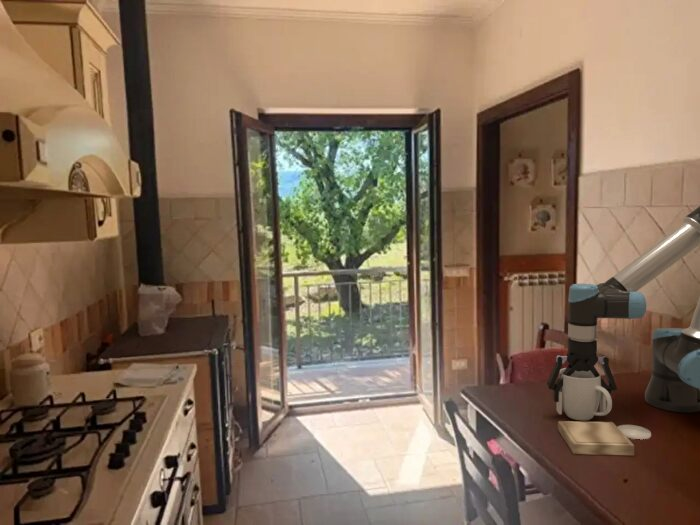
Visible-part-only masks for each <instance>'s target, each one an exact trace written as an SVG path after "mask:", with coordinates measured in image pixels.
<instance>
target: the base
mask: <svg viewBox="0 0 700 525" xmlns="http://www.w3.org/2000/svg"><path fill="white" fill-rule="evenodd" d="M617 427H618V425H616V424H615V423H614V422H613V421H570V420H568V421H567V420H566V421H565V420H564V421H563V420H559V421H558V422H557V429H558V430H557V431H558V432H559V433H560V435H561V437H562V438H563V440H564V441H565V443H566V445H567V446H568V448H569V450H570V451H571V453H572V454H573V455H597V456H598V455H599V456H604V455H605V456H607V455H608V456H635V445H634V443H633V442H632V441H631V439H630V438H627V437H626V436H625V435H624V434H623V433H622V432H621V431H620V430H619V429H618V428H617Z"/></svg>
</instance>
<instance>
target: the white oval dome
mask: <svg viewBox="0 0 700 525" xmlns="http://www.w3.org/2000/svg"><path fill="white" fill-rule="evenodd" d="M617 428H618V429H619V430H620V431H621V432H622V433H623V434H624V435H625V436H626V437H627V438H628V439H630V438H631V439H630V440H635V439H640V441H646V440H650V438H651V437H652V432H651V430H649V429H648V428H646V427H643V426H639V425H636V424H635V425H634V424H621V425H617ZM643 439H644V440H643ZM645 439H646V440H645Z"/></svg>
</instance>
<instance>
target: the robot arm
mask: <svg viewBox="0 0 700 525" xmlns="http://www.w3.org/2000/svg"><path fill="white" fill-rule="evenodd" d="M699 246H700V205H698V207H696V208H695V209H694V210H693V211H691V212H690V213H689V214H687V215H686V216H684V218H683V221H682V224H680V225H679V226H678V227H676V228H675V229H673V230H672V231H671V232H669V233H668V234H667V235H665V237H663V238H662V239H661V240H659V241H658V242H656V243H655V244H654V245H652V247H650V248H649V249H647V250H646V251H644V253H642V254H641V255H640V256H638V257H636V258H635V259H634V260H633V261H631V262H630V263H629V264H628V265H627V266H625V267H624V268H622V269H621V270H620V271H618V272H616V274H615V275H613V276H612V277H610V278H609V279H608V280H606V281H605V282H602V283H597V284H591V283H572V284H571V285H570V286H569V291H568V299H567V301H568V303H567V304H568V324H567V328H568V329H567V337H569V338H568V339H567V354H566V355H560V354H556V355H555V363H554V364H553V365H554V366H553V367H552V370H551V372H550V375H549V377H548V379H547V382H546V387H547V388H548V389H549V390H552V393H553V394H552V399H553V401H554V402H555V403H556V410H555V411H556V412H557V413H558V415H562V414H563V413H562V412H563V407H562V391H561V390H560V389H561V388H562V386H563V378H562V379H561V378H560V377H559V372H560V370H561V369H562V366H563V365H564V364H565V363H566V361H567V363H568V364H567V366H566V367H565V368H566V370H565V371H564V372H563V373H562V374H563V375H566V376H569V377H570V376H571V374H573V373H574V372H575V370H576V371H587V372H588V371H589V370H590V371H591V372H592V374H593V375H594V376H595V378H596V377H599V375H600V374H601V373H600V372H599V373H600V374H599V373H598V369H597V368H596V367H595V365H596V364H597V363H598V362H599V364H601V368H602V370H603V373H604V375H605V377H606V380H607V383H608V385H607V383H606V381H605V380H604V378H603V377H602V376H601V387H603V388H605V389H606V390H607V391H608V392H609V394H610V395H611V393H612V392H613V391H615V392H616V391H617V390H618V387H617V384H616V381H615V378H614V375H613V373H612V371H611V368H610V366H609V365H610V364H609V363H610V359H609V358H608V356H606V355H605V354H603V355H601V356H598V354H597V352H598V351H597V350H598V349H597V348H598V342H597V338H598V319H619V320H620V319H622V320H623V319H625V320H627V319H628V320H634V319H636V320H637V319H642V318H643V317H644V316H645V314H646V310H647V301H646V296H645V295H644V294H643V293H642V292H640V291H639V290H641V289H642V288H644V286H646V285H648V284H649V283H650V282H652V281H653V280H654V279H656V278H657V277H658V276H660V275H661V274H663V273H664V272H665V271H667V270H668V269H669V268H671V267H672V266H673V265H675V264H677V262H679V261H680V260H682V259H683V258H685V256H687V255H688V254H689V253H691V252H693V251H694V250H695V249H697V248H698V247H699ZM693 313H694V314H693V316H692V318H691V322H690V326H688V327H687V328H683V327H680V328H679V327H678V328H677V327H660V328H656V329H654V330H653V331H652V338H651V341H652V342H651V345H652V347H651V348H652V349H651V350H652V351H651V377H650V380H649V381H648V385H647V387H646V389H645V392H644V401H645V402H646V403H647V404H648V405H650V406H652V407H654V408H658V409H660V410H663V411H669V412H676V413H687V414H689V413H698V412H700V296H699V298H698V300H697V303H696V306H695V310H694V312H693ZM606 408H607V401H606V397H605V395H604V394H603V393H602V392H601V395H600V402H599V412H604V411H605V410H606Z"/></svg>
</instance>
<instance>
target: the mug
mask: <svg viewBox="0 0 700 525" xmlns="http://www.w3.org/2000/svg"><path fill="white" fill-rule="evenodd" d="M565 370H566V367H564V368H561V370H560V372H559V375H558V378H559V377H560V378H561V379H562V378H563V386H562V388H561V389H560V390H561V391H562V410H563V412H564V413H565V415H566V416H567V418H570V419H572V420H575V421H578V422H588V421H590V420H592V419H593V418H594V416H597V417H598V416H599V417H600V416H601V417H602V416H607V415H608V414H609V413H610V412H611V410H612V408H613V400H612V396H611V393H610V394H609V392H608V391H607V390H606V389H605V388H603V387H602V386H601V377H602V376H601V373H600V372H598V373H599V374H600V375H599V377H596V378H595V376H594V375H593V374H592V372H591V371H590V370H589V371H588V372H587V371H576V370H575V372H574V373H573V374H571V376H570V377H569V376H566V375H563V374H562V373H563V372H564V371H565ZM601 392H602V393H603V394H604V395H605V397H606V401H607V403H606V410H605V411H604V412H600V411H598V409H599V407H600V395H601Z"/></svg>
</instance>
